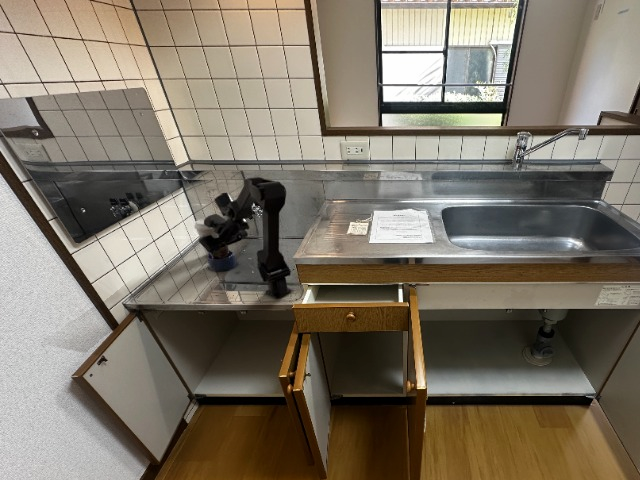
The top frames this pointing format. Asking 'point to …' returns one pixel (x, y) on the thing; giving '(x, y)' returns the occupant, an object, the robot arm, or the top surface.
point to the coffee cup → (204, 230)
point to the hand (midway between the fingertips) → (216, 249)
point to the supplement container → (221, 252)
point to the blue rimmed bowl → (221, 262)
